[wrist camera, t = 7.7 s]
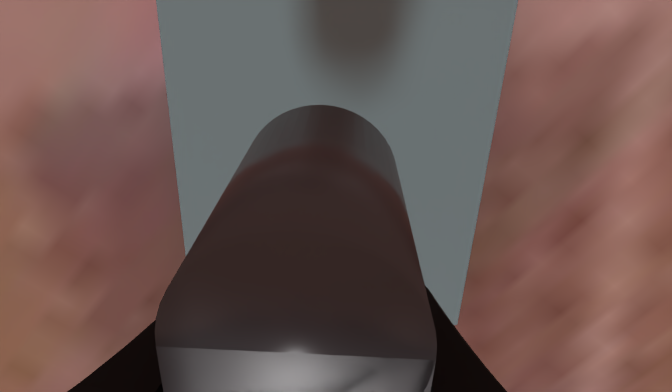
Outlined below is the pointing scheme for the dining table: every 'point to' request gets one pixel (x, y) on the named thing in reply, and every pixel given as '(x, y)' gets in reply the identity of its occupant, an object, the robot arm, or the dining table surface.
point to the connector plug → (302, 271)
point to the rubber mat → (345, 100)
